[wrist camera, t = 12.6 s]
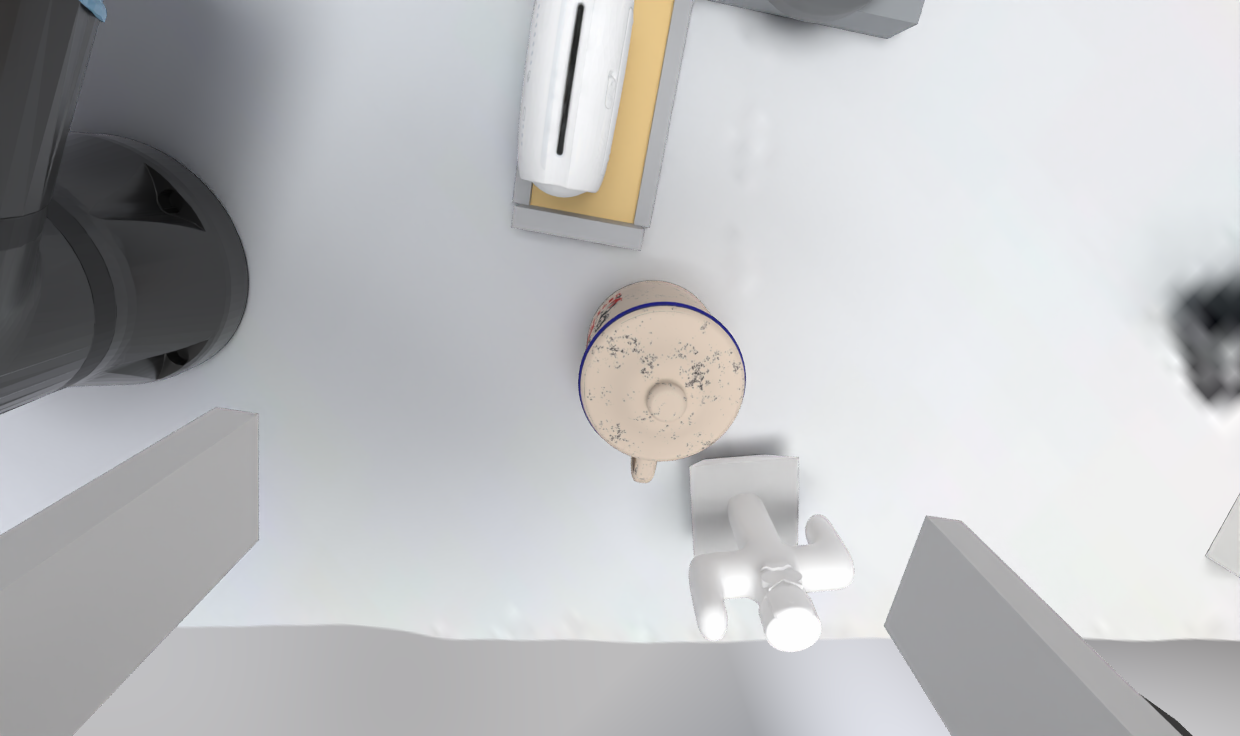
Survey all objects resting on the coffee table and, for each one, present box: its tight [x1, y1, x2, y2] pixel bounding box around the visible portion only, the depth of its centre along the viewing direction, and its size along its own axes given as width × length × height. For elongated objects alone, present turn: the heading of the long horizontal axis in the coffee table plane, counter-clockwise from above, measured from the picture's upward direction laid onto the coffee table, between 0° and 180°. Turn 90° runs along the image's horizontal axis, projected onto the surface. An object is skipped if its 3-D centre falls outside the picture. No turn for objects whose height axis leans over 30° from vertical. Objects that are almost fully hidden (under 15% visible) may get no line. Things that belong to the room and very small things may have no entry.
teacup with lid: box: [578, 281, 746, 483], centre depth 35 cm, size 12×9×12 cm
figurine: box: [689, 454, 855, 652], centre depth 37 cm, size 7×9×15 cm
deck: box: [511, 0, 925, 251], centre depth 32 cm, size 24×21×7 cm
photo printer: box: [518, 0, 634, 198], centre depth 30 cm, size 10×4×12 cm, turn 169°
